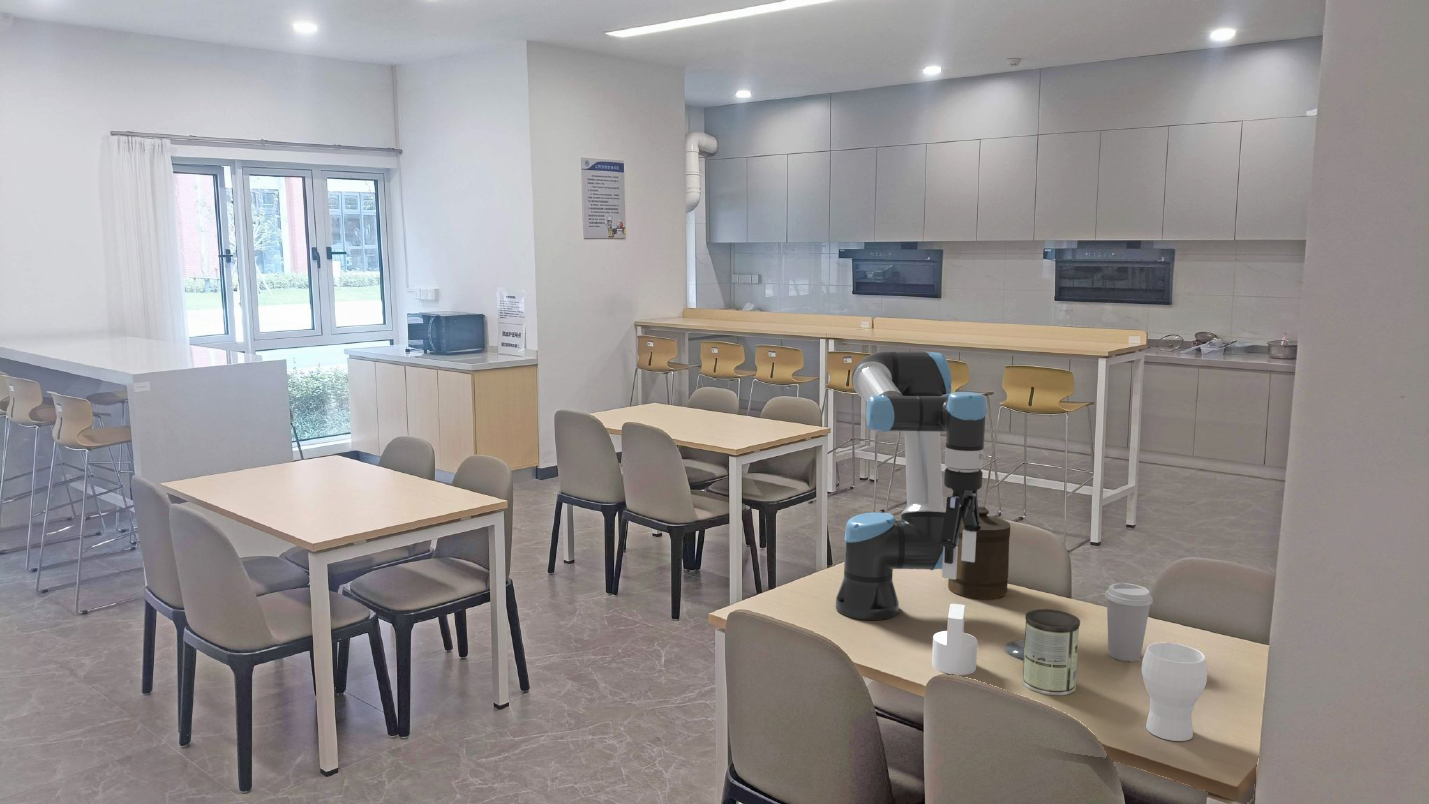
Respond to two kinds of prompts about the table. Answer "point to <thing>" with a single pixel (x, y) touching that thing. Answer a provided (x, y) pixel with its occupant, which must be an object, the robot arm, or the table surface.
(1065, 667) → the coffee can
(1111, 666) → the table surface
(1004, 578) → the wooden container
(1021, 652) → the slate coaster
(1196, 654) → the cup
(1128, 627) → the coffee cup
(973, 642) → the base with upright slab
